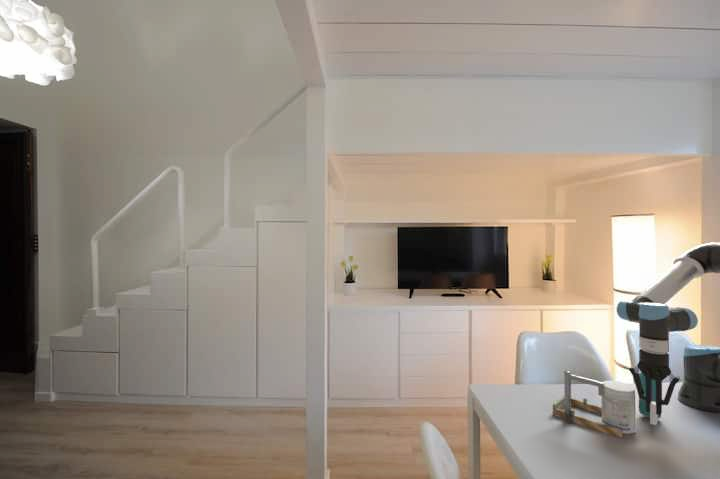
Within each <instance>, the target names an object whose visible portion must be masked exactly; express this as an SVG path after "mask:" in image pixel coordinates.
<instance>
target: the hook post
mask: <svg viewBox="0 0 720 479" xmlns="http://www.w3.org/2000/svg"><path fill="white" fill-rule="evenodd" d="M563 373H564V380H563V381H564V383H563V384H564V388H563V389H564V392H563V393H564V395H563V396H564V409H563V411H564V423H565V424H571V423H572V421H571V409H572V405H571V398H572V381H576V382H579V383H584V384H586V385H590V386H594V387H598V392H597V393H598V396H600V397H602V396H604V395H605V383H604V381H600V380H595V379H591V378H588V377H583V376H579V375H576V374H572V372H571V371H570V370H564V372H563Z"/></svg>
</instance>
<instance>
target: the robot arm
mask: <svg viewBox="0 0 720 479" xmlns="http://www.w3.org/2000/svg"><path fill="white" fill-rule="evenodd" d="M712 273H714V274H715V273H716V274H720V242H708V243H704V244H700V245H697V246H695V247H692V248H691V249H689V250H686V251H685V252H683V253H682V254H680V255H679V256H678V257H676V258H675V260H674V261H673V265H672V266H671V267H669V268H668V269H667V270H666V271H665V272H664V273H662V275H660V276H659V277H658V278H656V280H654V281H653V282H652V283H651V284H650V285H648V287H646V288H645V289H644V290H643V291H641V292H640V293H639V294H638V295H637V296H636V297H635V298H634V299H631V300H630V299H624V300H620V301H619V302H618V303H617V305H616V314H617V315H618V317H619V318H620V319H621V320H624V321H628V322H630V323H635V324H639V325H638V326H639V330H638V331H639V334H638V339H639V342H638V347H639V349H638V350H639V351H638V359H639V361H638V362H637V365H636V366H635V365H634V366H630V367H629V369H628V370H629V372H630V374H631V375H632V376H633V380H634V384H635V388H636V391H637V393H638V394H637V395H639V397H638V399H639V398H641V399H643V400H645V401H646V411H647V412H650V418H649V424H650V425H655V426H657V424H658V420H659V418H658V415H662V413H663V406H668V405H669V404H670V401H671V398H672V396H673V392H674V390H675V386H676V385H677V384H678V383H679V382H680V380H681V377H680V376H679V375H676V374H674V373H673V372H672V370H671V368H670V354H669V352H670V333H671V332H686V331H690V330H693V329H695V328H696V327H697V325H698V323H699V321H698V320H699V319H698V317H697V314H696V313H695V312H694V311H693V310H691V309H689V308H687V307H669V306H668V305H666V303H668V302H669V301H670V300H671V299H672V298H673V297H675V295H677V294H678V293H680V291H681V290H682V289H684V288H685V287H686V286H687V285H688V284H689V283H691V282H692V281H693V280H694V279H697V278H698V279H699V278H701V277H702V276H703V275H705V274H712ZM682 357H683V381H682V384H681V386H680V388H679V390H678V393H677V400H679V401H680V402H681V403H683V404H684V405H687V406H689V407H692V408H696V409H697V410H702V411H707V412H711V413H719V414H720V346H717V345H715V346H713V345H706V344H705V345H703V344H691V345H690V344H689V345H686V346H684V348H683V355H682ZM641 372H642V374H643V375H644V376H645V380H646V395H645V394H644V390H643V387H642V383H641V380H640V376H639V373H641ZM667 377H669V381H670V382H669V384H668V388H667V391H666V393H665V395H664V399H663V381H664V380H665V379H666V378H667ZM652 379H654V380H656V402H653V401H652Z"/></svg>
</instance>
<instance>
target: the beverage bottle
mask: <svg viewBox="0 0 720 479" xmlns="http://www.w3.org/2000/svg"><path fill="white" fill-rule="evenodd" d="M639 376H640V380H641V383H642V387H643V390H644V394H645V395H646V380H645V376H644V375H643V374H642V372H641V371H640V372H639ZM637 395H638V394H637ZM637 401H638V411H639V414H641V415H642V416H644V417H648V418H649V419H650V412H647V411H646V401H645V400H643V399H641V398H639V395H638V400H637ZM652 401H653V402H656V380H654V379H652ZM661 417H662V414H661V415H658V419H661Z"/></svg>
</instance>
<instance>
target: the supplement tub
mask: <svg viewBox="0 0 720 479" xmlns="http://www.w3.org/2000/svg"><path fill="white" fill-rule="evenodd" d="M603 382H604V383H605V395H604V396H601V407H602V415H601V423H603V424H606V425H609V426H612V427H615V428H618V429H621V430H622V435H629V434H630V435H631V434H633V433H635V432H636V392H635V388H634V387H633V386H632V385H630V384H627V383H625V382H622V381H616V380H604V381H603Z"/></svg>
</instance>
